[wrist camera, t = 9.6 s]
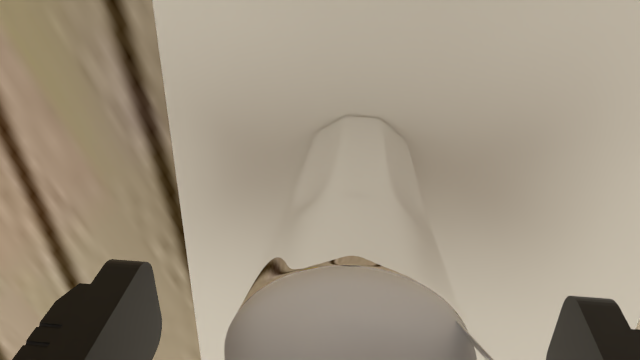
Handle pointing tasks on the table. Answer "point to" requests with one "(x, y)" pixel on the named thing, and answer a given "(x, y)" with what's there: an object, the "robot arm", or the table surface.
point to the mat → (419, 142)
